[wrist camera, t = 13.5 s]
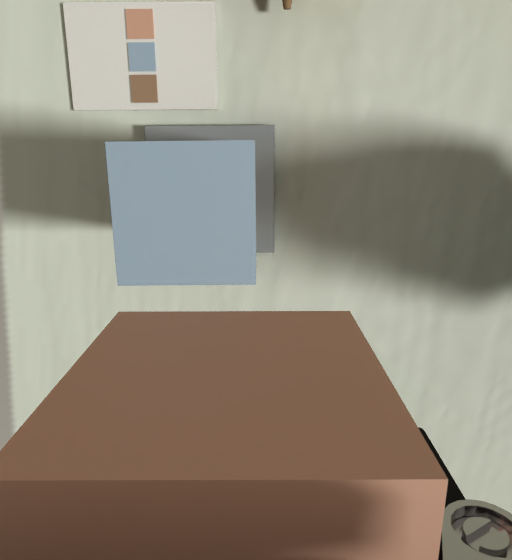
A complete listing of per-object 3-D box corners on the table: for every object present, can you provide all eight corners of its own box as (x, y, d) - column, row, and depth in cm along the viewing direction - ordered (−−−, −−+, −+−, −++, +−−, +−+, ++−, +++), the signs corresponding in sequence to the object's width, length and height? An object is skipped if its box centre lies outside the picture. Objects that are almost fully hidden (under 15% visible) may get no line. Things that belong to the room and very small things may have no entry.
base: (273, 250, 31) (277, 274, 25) (155, 250, 32) (128, 275, 25) (273, 125, 29) (278, 117, 23) (147, 126, 29) (115, 118, 23)
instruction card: (218, 109, 29) (217, 108, 29) (75, 110, 29) (72, 109, 29) (215, 2, 28) (214, 0, 27) (64, 3, 28) (62, 1, 27)
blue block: (256, 254, 25) (256, 284, 19) (150, 255, 25) (117, 285, 19) (255, 143, 23) (254, 140, 17) (142, 145, 23) (104, 141, 17)
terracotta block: (338, 503, 13) (408, 795, 7) (135, 504, 13) (36, 796, 7) (349, 311, 11) (447, 479, 6) (118, 312, 11) (-25, 481, 6)
